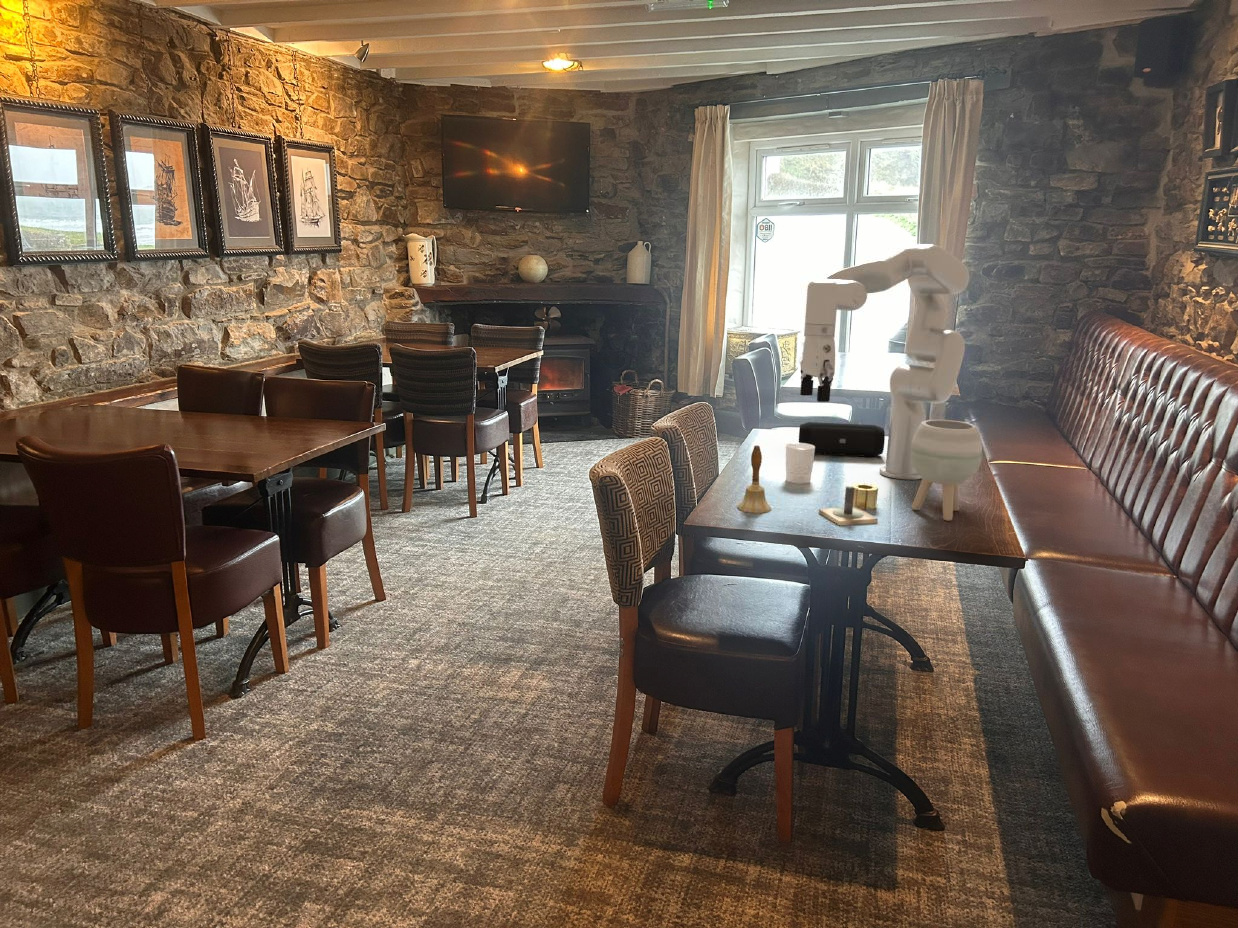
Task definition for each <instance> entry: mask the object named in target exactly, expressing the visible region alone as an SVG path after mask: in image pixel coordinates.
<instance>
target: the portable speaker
mask: <svg viewBox="0 0 1238 928" xmlns="http://www.w3.org/2000/svg"><path fill="white" fill-rule="evenodd" d="M885 437H886V436H885V429H884V427H881V426H879V425H876V424H863V423H862V424H860V423H859V424H858V423H842V422H840V423H839V422H838V423H837V422H817V421H815V422H814V421H808V422H804V423H801V424H799V432H798V443H806V444H811V445H814V446H815V452H814V455H825V454H826V456H827V455H829V456H830V455H831V456H848V457H849V456H850V457H870V458H871V457H872V458H873V457H876V456H880V455H883V454H884V450H885V441H886V438H885Z"/></svg>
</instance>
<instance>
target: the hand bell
mask: <svg viewBox="0 0 1238 928" xmlns="http://www.w3.org/2000/svg"><path fill="white" fill-rule="evenodd" d="M762 456H763V455H762V451H761V447H760V445H754V446H753V449H752V453H751V455H750V462H751V468H752V478H751V481H752V483H751V484H750V485H748V486H746V488H745V493H744V497H743V498H742V500H741V502H739V503H738V505H737V506H736V507H737V509H738V510H739V511H741V512H745V513H749V514H765V513H769V512H771V511H772V507H771V505H770V504H769V503H768V501H767V499H766V493H765V488H764V486H762V485H761V484H760V469H761V467H762V466H761V465H762V461H763V460H762V459H763V457H762Z"/></svg>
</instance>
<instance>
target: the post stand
mask: <svg viewBox="0 0 1238 928" xmlns="http://www.w3.org/2000/svg"><path fill="white" fill-rule="evenodd" d="M854 489H855V488H854V487H852V486H846V487H845V492H844V493H845V495H844V505H843V507H833V508H832V507H831V508H830V507H829V508H818V509H819V510H818V514H820V515H821V516H823V517H825V518H826V519H828V520H829V521H831V522H833V523H834V522H835V524H836V523H837V524H836V525H838V526H839V525H840V526H849V525H850V526H852V525H864V524H865V525H866V524H877V523H878V522H879V521H878V520H879V519H878V518H877V517H875V516H874V515H872V514H870V513H868V512H867V511H865V510H863V509H859V508H857V507H853V500H854Z"/></svg>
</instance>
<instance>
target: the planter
mask: <svg viewBox="0 0 1238 928" xmlns="http://www.w3.org/2000/svg"><path fill="white" fill-rule="evenodd" d="M982 442H983V441H982V438H981V433H980V431H979V428H978V426H976V425H975V424H973V423H969V422H967V421H961V420H952V419H927V420H925V421H923V422H922V423H921V424H920V425H919V427H918V429H917V431H916V433H915V435H914V438H913V441H912V445H911V453H910V455H911V462H912V465H913V467H914V469H915V470H916V472H917V473H918V474H919V475H920V476H921V482H920V484H919V487H918V490H917V492H916V495H915V496H914V499H913V502H912V505H911V508H912V510H914V511H920V510H921V508H922V507H923V505H924V502H925V500H926V498H927V496H928V493H929V491H930V489H931V487H932V485H933V484H938V485H941V486H942V487H941V490H942V491H941V493H942V495H941V497H942V502H941V503H942V518H943V520H944V521H946V522H950V521H952V520H953V516H954V512H957V511H959V510H960V499H959V485H963V484H965V482H966V481H968V480H969V479H970V478H971V477H972V476H974V475H975V474H976V473H977V471H978V469H979V467H980V465H981V462H982V458H983V443H982Z"/></svg>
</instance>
